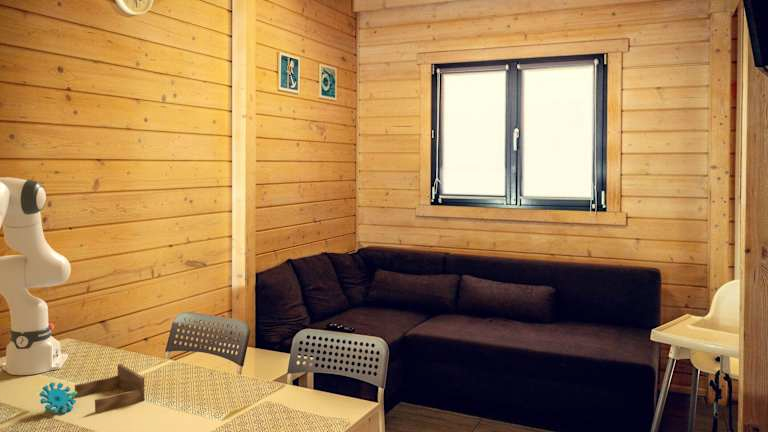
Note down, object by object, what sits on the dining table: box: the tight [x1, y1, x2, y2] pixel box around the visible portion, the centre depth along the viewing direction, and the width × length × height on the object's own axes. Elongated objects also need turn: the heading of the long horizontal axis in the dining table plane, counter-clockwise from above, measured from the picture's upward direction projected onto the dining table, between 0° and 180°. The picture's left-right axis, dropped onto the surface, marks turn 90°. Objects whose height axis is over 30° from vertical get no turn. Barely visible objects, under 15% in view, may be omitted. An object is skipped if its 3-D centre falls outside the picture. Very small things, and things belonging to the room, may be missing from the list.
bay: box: [74, 363, 145, 413], centre depth 196 cm, size 14×17×7 cm
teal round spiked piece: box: [39, 382, 77, 415], centre depth 187 cm, size 11×6×10 cm
